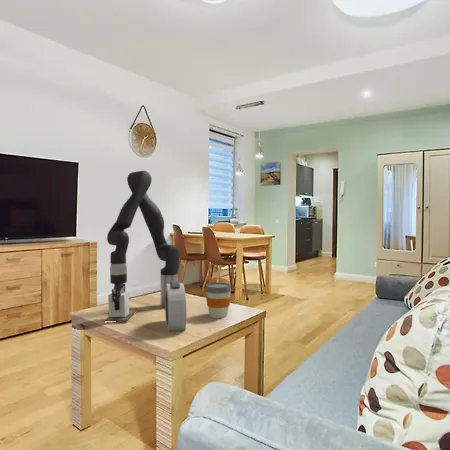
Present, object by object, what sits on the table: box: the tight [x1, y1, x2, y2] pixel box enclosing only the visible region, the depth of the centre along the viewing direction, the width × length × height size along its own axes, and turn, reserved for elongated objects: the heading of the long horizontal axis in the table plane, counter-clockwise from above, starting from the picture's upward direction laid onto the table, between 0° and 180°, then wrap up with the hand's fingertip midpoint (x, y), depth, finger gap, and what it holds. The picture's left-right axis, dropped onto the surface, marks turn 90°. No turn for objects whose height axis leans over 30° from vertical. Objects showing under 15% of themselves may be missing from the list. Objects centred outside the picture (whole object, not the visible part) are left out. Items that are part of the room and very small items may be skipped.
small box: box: [107, 292, 130, 317], centre depth 169 cm, size 8×6×10 cm
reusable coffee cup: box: [205, 282, 232, 319], centre depth 175 cm, size 13×13×15 cm
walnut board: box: [104, 307, 138, 323], centre depth 174 cm, size 10×20×2 cm, turn 0°
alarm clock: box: [164, 281, 187, 332], centre depth 159 cm, size 21×8×20 cm, turn 13°
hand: (119, 308), depth 169 cm, fingers closed on small box, 6 cm apart
